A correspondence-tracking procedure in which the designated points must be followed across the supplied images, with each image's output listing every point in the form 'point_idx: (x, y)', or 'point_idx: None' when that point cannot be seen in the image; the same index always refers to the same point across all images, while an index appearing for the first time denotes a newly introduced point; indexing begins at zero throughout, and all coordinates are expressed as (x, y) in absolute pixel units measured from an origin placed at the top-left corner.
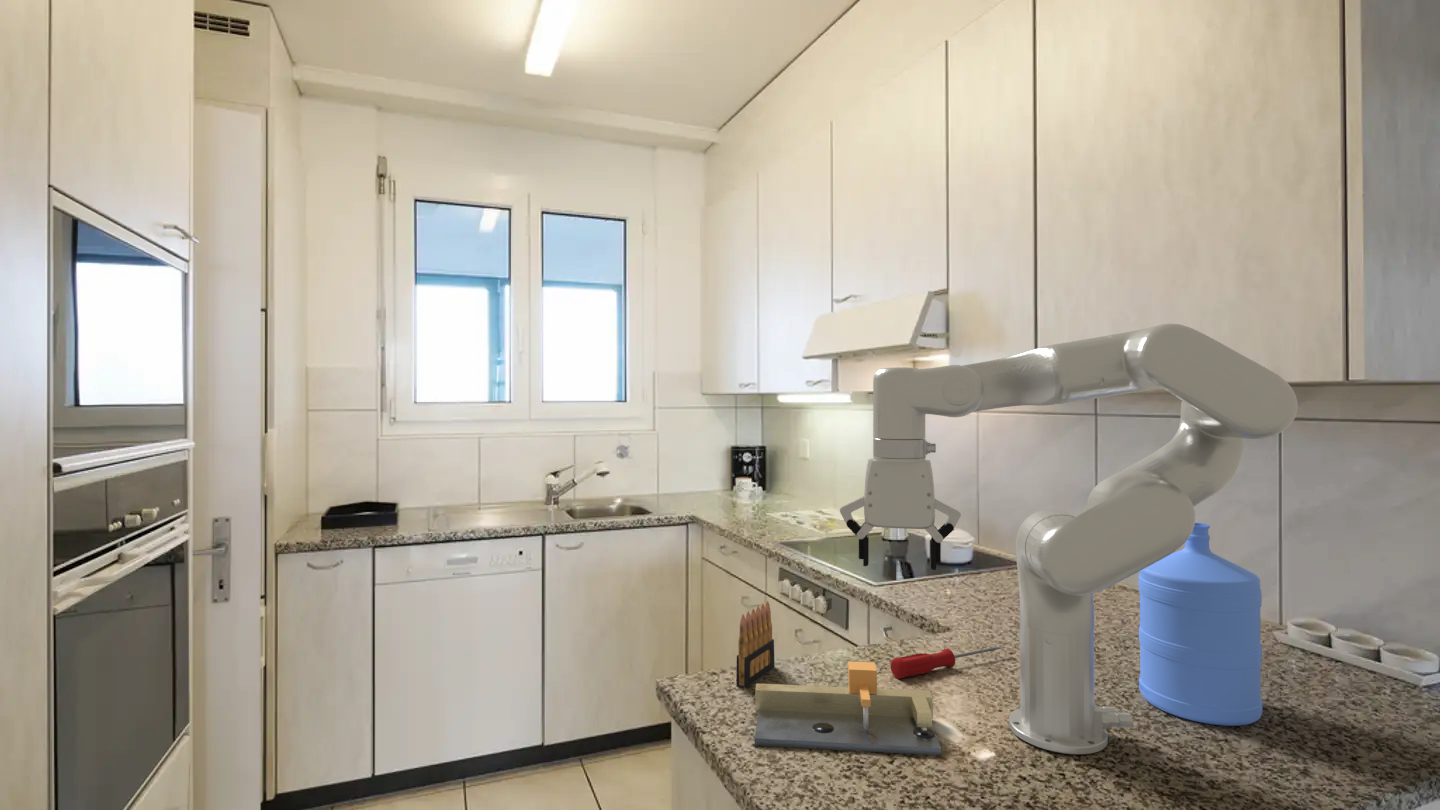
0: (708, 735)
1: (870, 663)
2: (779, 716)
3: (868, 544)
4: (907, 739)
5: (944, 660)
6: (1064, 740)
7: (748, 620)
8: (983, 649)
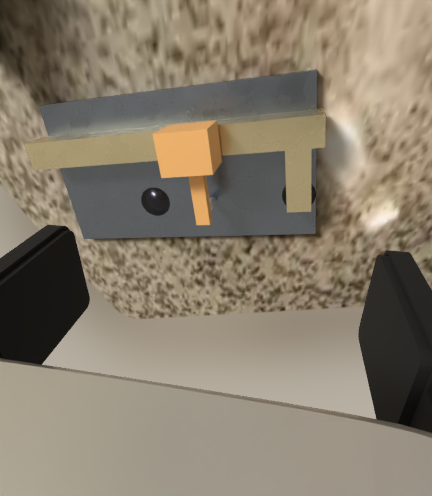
0: (31, 218)
1: (198, 137)
2: (91, 177)
3: (21, 309)
4: (271, 216)
5: None
6: None
7: None
8: None
